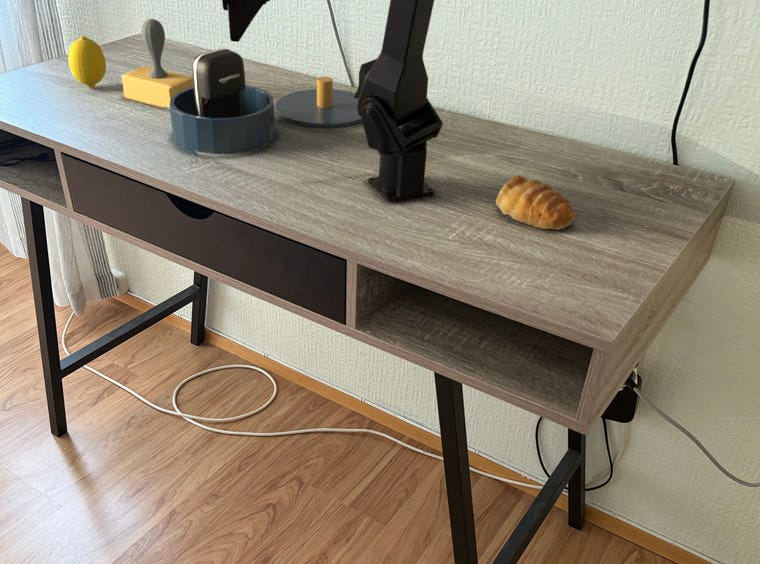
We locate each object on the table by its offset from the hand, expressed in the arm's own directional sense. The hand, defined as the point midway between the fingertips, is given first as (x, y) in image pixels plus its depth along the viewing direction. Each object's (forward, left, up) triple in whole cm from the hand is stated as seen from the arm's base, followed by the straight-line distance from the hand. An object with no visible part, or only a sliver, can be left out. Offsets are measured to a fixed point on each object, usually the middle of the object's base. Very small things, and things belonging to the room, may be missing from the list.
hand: (230, 25), depth 109 cm
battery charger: (-1, +2, -15) cm, 15 cm away
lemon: (+26, +16, -15) cm, 34 cm away
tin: (-1, +2, -15) cm, 15 cm away
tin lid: (+3, -15, -14) cm, 21 cm away
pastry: (-37, -26, -15) cm, 48 cm away
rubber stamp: (+17, +7, -15) cm, 24 cm away
